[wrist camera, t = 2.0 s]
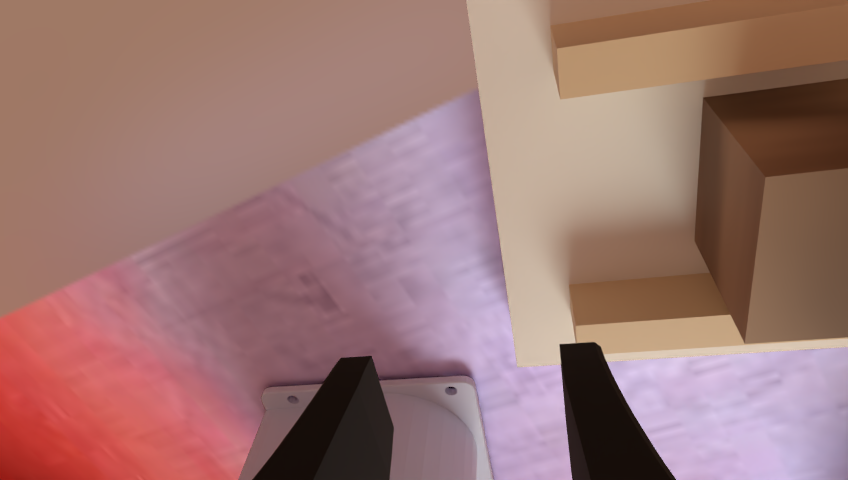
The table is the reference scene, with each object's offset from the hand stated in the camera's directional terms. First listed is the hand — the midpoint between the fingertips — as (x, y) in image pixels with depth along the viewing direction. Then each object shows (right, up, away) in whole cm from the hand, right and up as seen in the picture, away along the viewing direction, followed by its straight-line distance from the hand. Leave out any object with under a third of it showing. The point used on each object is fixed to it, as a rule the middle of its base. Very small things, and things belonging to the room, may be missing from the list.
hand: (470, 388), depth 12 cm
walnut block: (+9, +5, +5) cm, 11 cm away
